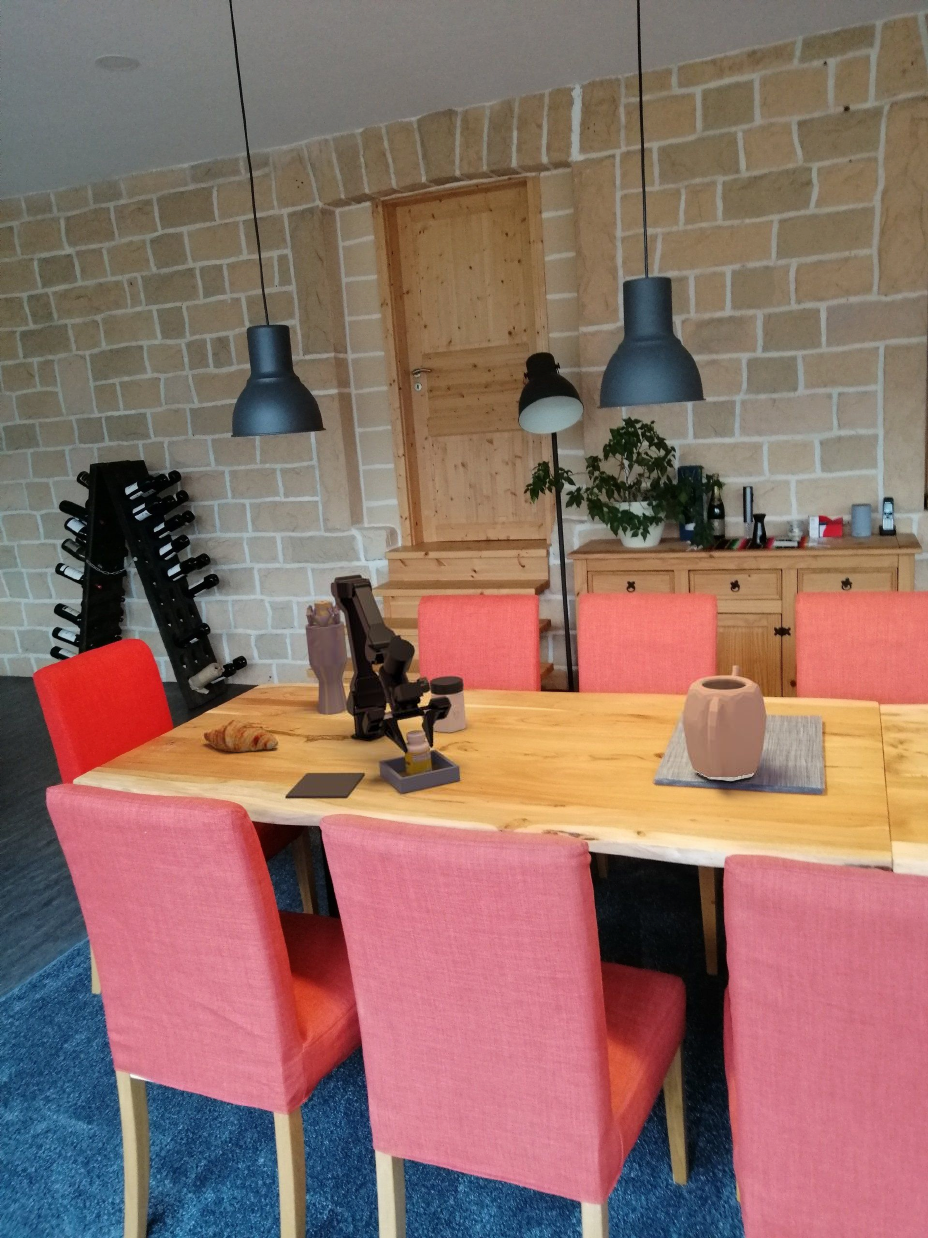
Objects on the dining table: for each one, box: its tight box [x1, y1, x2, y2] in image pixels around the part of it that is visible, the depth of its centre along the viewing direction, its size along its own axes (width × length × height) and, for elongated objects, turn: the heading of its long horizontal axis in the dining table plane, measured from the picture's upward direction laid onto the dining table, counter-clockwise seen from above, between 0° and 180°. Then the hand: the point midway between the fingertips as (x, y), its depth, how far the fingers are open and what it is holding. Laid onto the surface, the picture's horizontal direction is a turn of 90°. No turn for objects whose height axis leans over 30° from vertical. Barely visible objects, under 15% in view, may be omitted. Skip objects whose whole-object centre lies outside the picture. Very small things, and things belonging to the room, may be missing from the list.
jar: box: [429, 675, 467, 734], centre depth 227 cm, size 9×8×12 cm
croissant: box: [203, 719, 279, 753], centre depth 225 cm, size 21×10×8 cm, turn 68°
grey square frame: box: [378, 749, 461, 795], centre depth 195 cm, size 13×13×3 cm
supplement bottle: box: [404, 729, 433, 777], centre depth 195 cm, size 5×5×10 cm
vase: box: [304, 600, 348, 715], centre depth 249 cm, size 10×10×30 cm
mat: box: [285, 772, 366, 799], centre depth 194 cm, size 13×13×1 cm
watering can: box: [682, 665, 767, 777], centre depth 185 cm, size 16×27×19 cm, turn 154°
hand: (419, 749), depth 193 cm, fingers closed on supplement bottle, 5 cm apart
